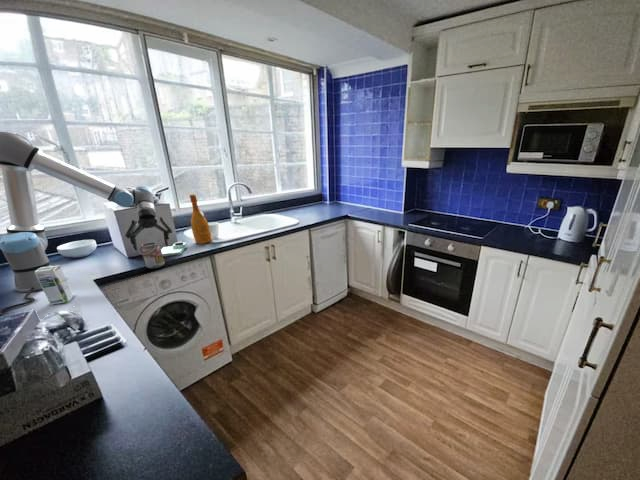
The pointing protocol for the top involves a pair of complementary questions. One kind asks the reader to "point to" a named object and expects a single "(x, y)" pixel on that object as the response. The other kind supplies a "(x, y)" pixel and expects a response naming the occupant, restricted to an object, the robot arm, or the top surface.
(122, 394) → the top surface
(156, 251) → the glass clasp jar
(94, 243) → the cereal bowl
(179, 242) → the tare button
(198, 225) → the wine bottle
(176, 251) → the scale
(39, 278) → the syrup box
